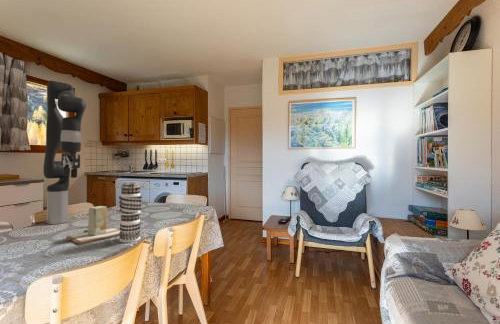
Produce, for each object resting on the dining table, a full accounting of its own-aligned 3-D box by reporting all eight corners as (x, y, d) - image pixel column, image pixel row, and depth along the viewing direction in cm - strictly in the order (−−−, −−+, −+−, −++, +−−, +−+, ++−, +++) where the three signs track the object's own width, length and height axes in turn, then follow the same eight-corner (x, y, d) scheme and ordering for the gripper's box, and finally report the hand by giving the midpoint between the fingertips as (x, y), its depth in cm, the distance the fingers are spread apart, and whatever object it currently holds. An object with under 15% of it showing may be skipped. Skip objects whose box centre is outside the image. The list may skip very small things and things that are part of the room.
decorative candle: (129, 243, 107) (130, 184, 106) (113, 240, 110) (114, 183, 110) (145, 237, 115) (146, 182, 115) (130, 235, 119) (131, 181, 118)
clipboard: (66, 238, 112) (66, 233, 112) (112, 228, 128) (112, 224, 128) (79, 245, 104) (79, 240, 104) (127, 234, 120) (127, 229, 120)
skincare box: (95, 236, 112) (95, 208, 112) (87, 235, 113) (87, 207, 113) (107, 232, 118) (107, 206, 118) (99, 231, 120) (100, 205, 119)
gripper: (55, 140, 116) (54, 175, 116) (67, 140, 107) (66, 178, 108) (73, 141, 122) (73, 175, 122) (87, 141, 113) (86, 177, 114)
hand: (70, 176), depth 115 cm, fingers open, 8 cm apart
